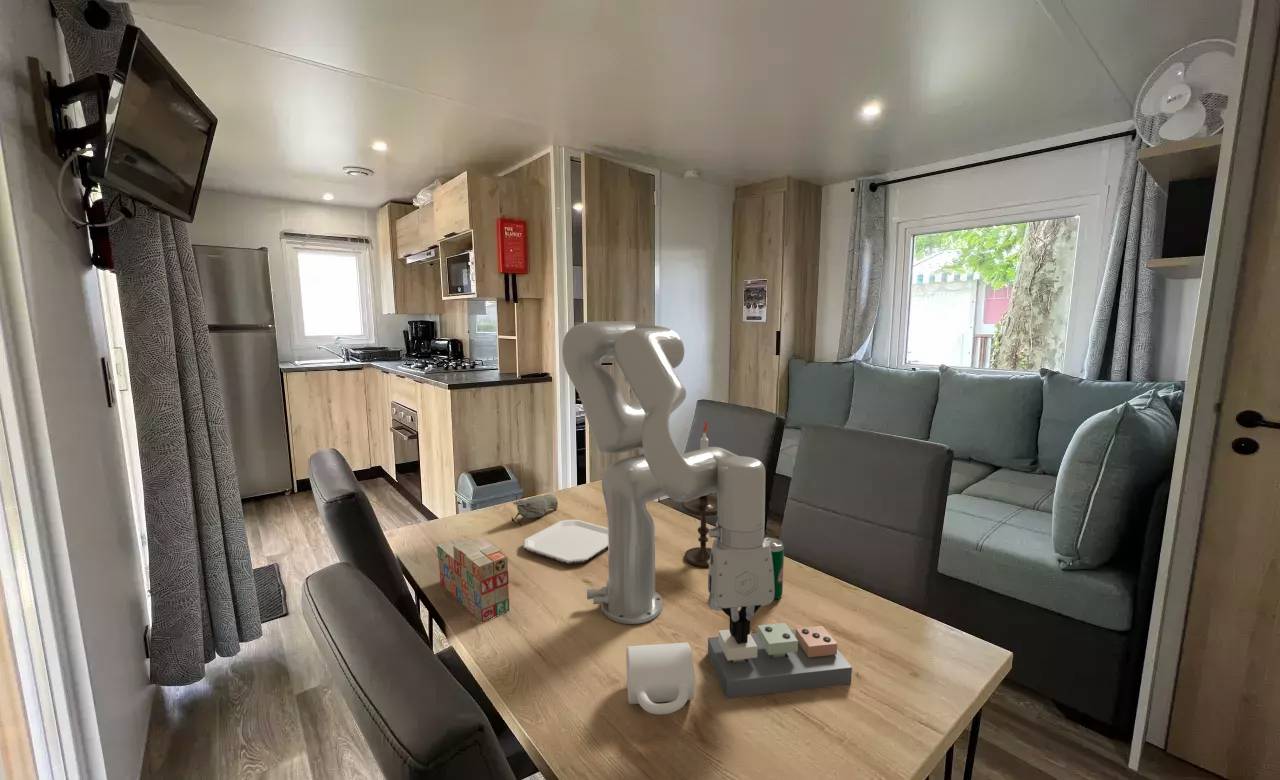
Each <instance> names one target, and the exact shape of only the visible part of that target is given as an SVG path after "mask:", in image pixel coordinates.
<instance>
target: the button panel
mask: <svg viewBox="0 0 1280 780" xmlns="http://www.w3.org/2000/svg"><path fill="white" fill-rule="evenodd" d="M790 630H791V632H792V633H793V634H794V636H796V628H794V629H791V628H790ZM750 634H751V636H752V638H753V639H754V641H755V643H756V645H757V657H756V658H747V659H745V662H736V663H731V661H730V660H727V658H726V656H725V654H724V652H723V650H722V647H721V645H720V643H719V636H713V637H708V638H707V654H708V657H709V659H710V661H711V665H712V666H713V667H712V668H714V669H713V670H714V672H715V673H716V676H717V678H718V681H719V683H720V686H721V688H722V690H723V693H724V695H725V697H726V699H736V698H744V697H752V696H761V695H771V694H778V693H786V692H794V691H795V692H796V691H803V690H811V689H820V688H829V687H838V686H845V685H851V684H852V675H853V667H852V666H851V664H850V663H849V662H848V660H847V659H846V658H845V657H844V656H843V654H842V653H841V652H840V651H839V650H838V648H837V655H827V656H818V657H808V656H807V654H806V653H805V652H804V650H803V649H802V647H801V646H800V645H799V643H798V652H792V653H785V657H782V658H773V659H772V658H771V656H770V655H769V654H768V653H767V651H766V649H765V648H764V646H763V644H762V643H761V641H760V639H759V638H758V632H753V633H751V632H750Z"/></svg>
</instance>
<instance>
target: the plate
mask: <svg viewBox="0 0 1280 780" xmlns="http://www.w3.org/2000/svg"><path fill="white" fill-rule="evenodd" d="M604 549H605V550H606V549H608V527H606V526H602V525H598V524H594V523H591V522H586V521H583V520H579V519H576V518H575V519H564V520H559V521H558V522H555V523H553V524H552V525H550V526H548V527H546V528H543V529H542V530H540V531H538V532H536V533H534V534H532V535H531V536H528V537H526V538H525V539H524V540H523V550H526V551H529V552H531V553H533V554H537V555H540V556H543V557H545V558H548V559H552V560H555V561H557V562H561V563H563V564H567V565H573V564H580V563H585V562H587V561H588V560H589V559H591V558H593V557H594V556H596V555H597V554H599V553H601V552H602V551H603V550H604Z"/></svg>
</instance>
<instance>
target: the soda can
mask: <svg viewBox="0 0 1280 780" xmlns="http://www.w3.org/2000/svg"><path fill="white" fill-rule="evenodd" d="M764 538H765V539H766V540H767V541H768V542H769V544H770V548H771V554H772V561H773V570H774V585H775V594H774V599H773V601H774V600H779V599H780V598H782V596H783V588H784V585H783V584H784V562H785V548H784V545H783V541H782V540H780V539H779V538H774V537H764Z"/></svg>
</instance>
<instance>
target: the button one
mask: <svg viewBox="0 0 1280 780" xmlns="http://www.w3.org/2000/svg"><path fill="white" fill-rule="evenodd" d="M718 637H719V643H720V645H721V647H722V650H723V652H724V654H725V656H726V658H727V660H730V661H731V663H736V662H745V659H747V658H756V657H757V645H756V643H755V641H754V639H753V638H752V636H751V633H750V634H749V635H748V641H747V643H744V642H742V643H741V644H737V642H736V640H735V638H734V636H731V634H730V628H729V629H722V630H721V629H719V630H718Z"/></svg>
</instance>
